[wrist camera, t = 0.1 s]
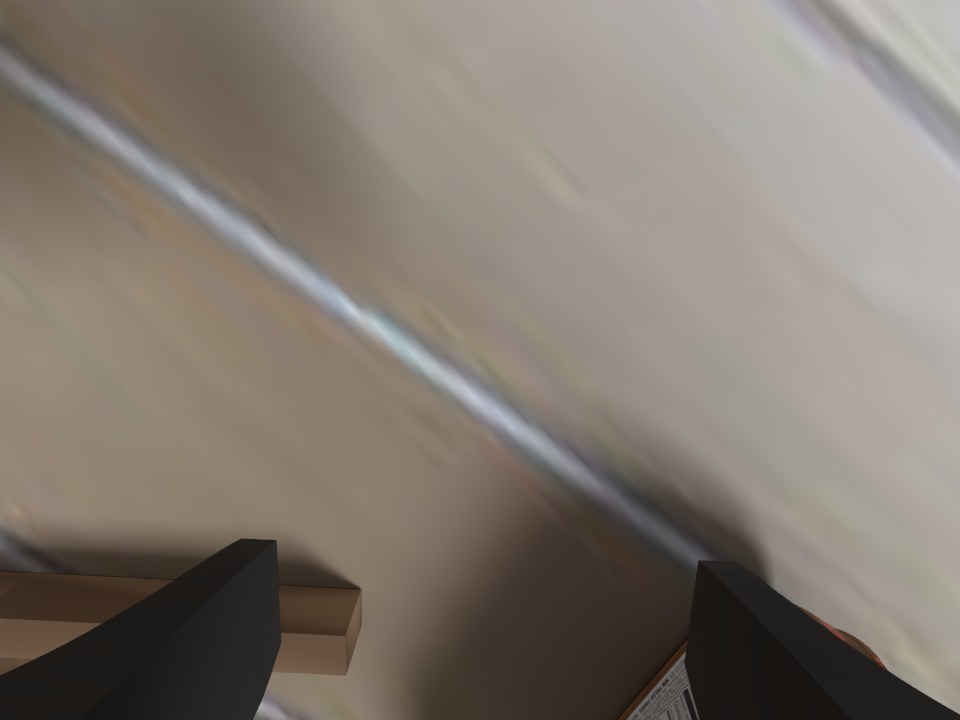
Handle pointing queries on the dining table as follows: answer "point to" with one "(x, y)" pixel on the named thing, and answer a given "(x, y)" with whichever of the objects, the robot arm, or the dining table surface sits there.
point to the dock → (95, 599)
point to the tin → (668, 698)
